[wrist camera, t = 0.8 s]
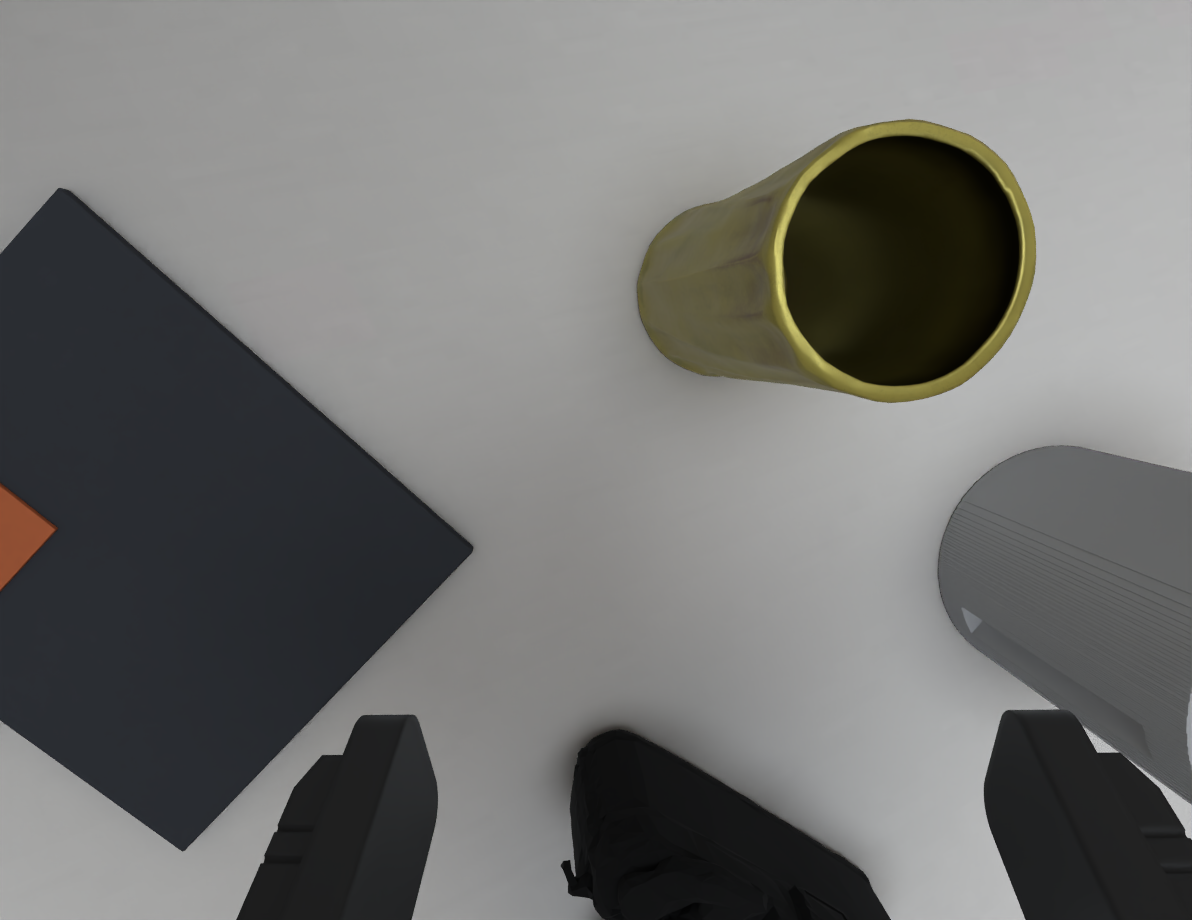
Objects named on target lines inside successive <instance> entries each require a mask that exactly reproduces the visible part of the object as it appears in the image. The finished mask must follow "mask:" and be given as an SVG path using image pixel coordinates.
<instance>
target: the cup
mask: <svg viewBox="0 0 1192 920" xmlns="http://www.w3.org/2000/svg"><path fill="white" fill-rule="evenodd" d="M961 500H962V501H961V502H960V504H959V505H958V506H957V509H956V510H955V511H954V514H953V515H952V516H951V517H952V518H951V519H950V522H949V523H948V524H949V525H948V526H947V529H946V532H945V534H944V537H943V540H942V541H943V542H942V543H941V544H942V546H941V549H940V555H939V556H940V557H939V558H940V559H939V561H938V562H939V568H938V569H939V570H938V572H939V573H938V574H939V575H938V577H939V578H938V579H939V581H940V582H939V584H940V585H939V586H940V588H941V589H940V591H941V592H940V593H941V595H942V596H941V597H942V599H943V601H944V602H943V603H944V605H945V608H946V610H947V611H946V612H948V613H949V614H948V615H949V617H950V618H951V620H952V621H953V622H952V623H954V626H955V627H957V630H958V631H960V634H961V635H963V636H964V637H965V638H964V639H966V640H967V641H968V642H969V643H970V644H972V645H973V646H974V647H975V648H977V649H978V650H979V651H980V652H982V653H983V654H984V655H986V656H987V657H988V658H990V659H991V660H993V661H994V662H995V663H997V664H998V665H1000V666H1001V667H1002V668H1004V669H1005V670H1006V671H1008V672H1009V673H1011V674H1012V675H1013V676H1015V677H1016V678H1017V679H1019V680H1020V681H1022V682H1023V683H1024V684H1026V685H1027V686H1029V687H1030V688H1031V689H1033V690H1034V691H1035V692H1037V693H1038V694H1040V695H1041V696H1042V697H1044V698H1045V699H1046V700H1048V701H1049V702H1051V703H1052V704H1053V705H1055V706H1056V707H1057V708H1059V709H1060V710H1068V711H1070V712H1072V713H1073V714H1074V715H1075V716H1076V717H1077V719H1078V720H1079V722H1080V723H1081V725H1082V726H1084V727H1085V728H1086V729H1088V730H1089V731H1091V732H1092V733H1093V734H1095V735H1096V736H1097V737H1099V738H1100V739H1102V740H1103V741H1104V742H1106V743H1107V744H1109V745H1110V746H1111V747H1113V748H1114V749H1115V750H1117V751H1118V752H1120V753H1121V754H1122V755H1124V756H1125V757H1126V758H1128V759H1129V760H1131V761H1132V762H1133V763H1135V764H1136V765H1138V766H1139V767H1140V768H1142V769H1143V770H1144V771H1146V772H1147V773H1149V774H1150V775H1151V776H1153V777H1154V778H1155V779H1157V780H1158V781H1160V782H1161V783H1162V784H1164V785H1165V786H1166V787H1168V788H1169V789H1171V790H1172V791H1173V792H1175V793H1176V794H1178V795H1179V796H1180V797H1182V798H1183V799H1184V800H1186V801H1187V802H1189V803H1190V804H1191V805H1192V473H1191V472H1186V471H1182V470H1178V469H1173V468H1169V467H1165V466H1160V465H1156V464H1151V463H1147V462H1143V461H1138V460H1134V459H1130V458H1125V457H1121V456H1117V455H1112V454H1108V453H1103V452H1099V451H1095V450H1090V449H1086V448H1081V447H1074V446H1048V447H1043V448H1039V449H1038V448H1037V449H1034V450H1030V451H1029V450H1028V451H1027V452H1024V453H1021V454H1018V455H1017V456H1016V455H1015V456H1014V457H1012V458H1010V459H1007V461H1004V462H1002V463H1001V464H999V465H998V466H996V467H995V468H992V470H991V471H990V472H989V471H988V473H987V474H986V475H984V476H983V477H982V478H981V479H980V480H979V481H977V482H976V483H975V484H974V485H973V487H972V488H971V489H970V490H969V491H968V492H967V494H966V495H965V496H964V497H963V498H962V499H961Z"/></svg>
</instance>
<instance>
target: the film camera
mask: <svg viewBox="0 0 1192 920" xmlns="http://www.w3.org/2000/svg"><path fill="white" fill-rule="evenodd" d="M570 814H571V828H572V839H573V848H574V860H575V871H576V877H574V874H573V872H572V870H571V863H570V860H567V861H563V863H562V864H561V867H562V869H563V871H564V873H565V876H566V879H567V881H568V893H569V894H570V895H572V896H578V897H586V898H590V899H592V900H593V905H594V907H595V909H596V911H597V912H598V913H599V914H600V916H601V917H602V918H604V919H606V920H891V919H890V917H889V916H888V914H887V912H886V911H885V909H884V908H883V906H882V904H881V903H880V901H879V899H878V898H877V896H876V894H875V893H874V891H873V889H872V887H871V885H870V882H869V879H868V878H867V876H866V875H865V874H864V872H863V871H861V870H860V869H858V868H856V867H855V866H853V865H852V864H850V863H849V862H848V861H847V860H846V859H845V858H843V857H841V856H839V855H837V854H834V853H832V852H830V851H829V850H828V849H826V848H825V847H824V846H822V845H821V844H819V843H818V842H816V841H815V840H813V839H811V838H810V837H808V836H807V835H805V834H803V833H801V832H800V831H798V830H796V829H795V828H794V827H792V826H791V825H789V824H787V823H786V822H784V821H782V820H781V819H779V818H777V817H776V816H774V815H772V814H771V813H769V812H768V811H766V810H764V809H763V808H761V807H760V806H758V805H757V804H755V803H754V802H752V801H751V800H749V799H748V798H746V797H744V796H743V795H741V794H739V793H737V792H735V791H734V790H732V789H731V788H729V787H727V786H726V785H724V784H723V783H721V782H719V781H718V780H716V779H714V778H713V777H711V776H709V775H708V774H706V773H704V772H702V771H701V770H699V769H697V768H696V767H694V766H693V765H691V764H690V763H688V762H686V761H684V760H682V759H681V758H679V757H677V756H675V755H673V754H671V753H670V752H668V751H666V750H665V749H663V748H661V747H659V746H657V745H655V744H654V743H652V742H650V741H648V740H646V739H644V738H642V737H640V736H638V735H636V734H634V733H631V732H629V731H625V730H620V729H619V730H612V731H609V732H606V733H603V734H601V735H599V736H597V737H594V738H593V739H592V740H591V741H590V742H589V743H588V744H587V745H586V747H585V748H581V750H580V751H579V752H578V758H577V764H576V765H575V771H574V780H573V785H572V792H571V802H570Z"/></svg>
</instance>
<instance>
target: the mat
mask: <svg viewBox="0 0 1192 920" xmlns="http://www.w3.org/2000/svg"><path fill="white" fill-rule="evenodd" d="M472 551H473V546H472V545H471V544H470V543H469V542H467V541H466V540H465V539H464V538H463V537H462V536H461V535H459V534H458V533H457V532H456V531H455V530H454V529H453V528H452V527H450V526H449V525H448V524H447V523H446V522H445V521H444V520H442V519H441V518H440V517H439V516H438V515H437V514H436V513H435V512H433V511H432V510H431V509H430V508H429V507H428V506H427V505H425V504H424V503H423V502H422V501H421V500H420V499H419V498H417V497H416V496H415V495H414V494H413V493H412V492H411V491H410V490H408V489H407V488H406V487H405V486H404V485H403V484H402V483H400V482H399V481H398V480H397V479H396V478H395V477H394V476H393V475H391V474H390V473H389V472H388V471H387V470H386V469H385V468H383V467H382V466H381V465H380V464H379V463H378V462H377V461H376V460H374V459H373V458H372V457H371V456H370V455H369V454H368V453H366V452H365V451H364V450H363V449H362V448H361V447H360V446H358V445H357V444H356V443H355V442H354V441H353V440H352V439H351V438H349V437H348V436H347V435H346V434H345V433H344V432H343V431H341V430H340V429H339V428H338V427H337V426H336V425H335V424H334V423H332V422H331V421H330V420H329V419H328V418H327V417H326V416H324V415H323V414H322V413H321V412H320V411H319V410H318V409H317V408H315V407H314V406H313V405H312V404H311V403H310V402H309V401H307V400H306V399H305V398H304V397H303V396H302V395H301V394H299V393H298V392H297V391H296V390H295V389H294V388H293V387H292V386H290V385H289V384H288V383H287V382H286V381H285V380H284V379H282V378H281V377H280V376H279V375H278V374H277V373H276V372H275V371H273V370H272V369H271V368H270V367H269V366H268V365H267V364H265V363H264V362H263V361H262V360H261V359H260V358H259V357H258V356H256V355H255V354H254V353H253V352H252V351H251V350H250V349H248V348H247V347H246V346H245V345H244V344H243V343H242V342H240V341H239V340H238V339H237V338H236V337H235V336H234V335H233V334H231V333H230V332H229V331H228V330H227V329H226V328H225V327H223V326H222V325H221V324H220V323H219V322H218V321H217V320H216V319H214V318H213V317H212V316H211V315H210V314H209V313H208V312H206V311H205V310H204V309H203V308H202V307H201V306H200V305H199V304H197V303H196V302H195V301H194V300H193V299H192V298H191V297H189V296H188V295H187V294H186V293H185V292H184V291H183V290H181V289H180V288H179V287H178V286H177V285H176V284H175V283H174V282H172V281H171V280H170V279H169V278H168V277H167V276H166V275H164V274H163V273H162V272H161V271H160V270H159V269H158V268H157V267H155V266H154V265H153V264H152V263H151V262H150V261H149V260H147V259H146V258H145V257H144V256H143V255H142V254H141V253H140V252H138V251H137V250H136V249H135V248H134V247H133V246H132V245H130V244H129V243H128V242H127V241H126V240H125V239H124V238H122V237H121V236H120V235H119V234H118V233H117V232H116V231H115V230H113V229H112V228H111V227H110V226H109V225H108V224H107V223H105V222H104V221H103V220H102V219H101V218H100V217H99V216H98V215H96V214H95V213H94V212H93V211H92V210H91V209H90V208H88V207H87V206H86V205H85V204H84V203H83V202H82V201H81V200H79V199H78V198H77V197H76V196H75V195H74V194H73V193H71V192H70V191H69V190H66V189H62V188H58V189H57V190H56V192H55V193H54V194H53V195H52V196H51V197H50V198H49V199H48V201H47V202H46V203H45V204H44V205H43V206H42V207H41V209H40V210H39V211H38V212H37V213H36V214H35V215H34V216H33V218H32V219H31V220H30V221H29V222H28V223H27V224H26V226H25V227H24V228H23V229H22V230H21V231H20V232H19V233H18V235H17V236H16V237H15V238H14V239H13V240H12V241H11V243H10V244H9V245H8V246H7V247H6V248H5V249H4V251H3V252H2V253H1V254H0V720H1V721H2V722H3V723H5V724H6V725H8V726H9V727H10V728H12V729H13V730H14V731H16V732H17V733H19V734H20V735H21V736H23V737H24V738H26V739H27V740H28V741H30V742H31V743H33V744H34V745H35V746H37V747H38V748H39V749H41V750H42V751H44V752H45V753H46V754H48V755H49V756H51V757H52V758H53V759H55V760H56V761H57V762H59V763H60V764H62V765H63V766H64V767H66V768H67V769H69V770H70V771H71V772H73V773H74V774H76V775H77V776H78V777H80V778H81V779H82V780H84V781H85V782H87V783H88V784H89V785H91V786H92V787H94V788H95V789H96V790H98V791H99V792H100V793H102V794H103V795H105V796H106V797H107V798H109V799H110V800H112V801H113V802H114V803H116V804H117V805H119V806H120V807H121V808H123V809H124V810H125V811H127V812H128V813H130V814H131V815H132V816H134V817H135V818H137V819H138V820H139V821H141V822H142V823H143V824H145V825H146V826H148V827H149V828H150V829H152V830H153V831H155V832H156V833H157V834H159V835H160V836H162V837H163V838H164V839H166V840H167V841H168V842H170V843H171V844H173V845H174V846H175V847H177V848H178V849H180V850H181V851H184V850H186V849H187V847H188V846H189V845H190V844H191V843H192V842H193V841H194V840H195V839H196V838H197V837H198V836H199V835H200V834H201V833H202V832H203V831H204V830H205V829H206V828H207V827H208V826H209V825H210V824H211V823H212V822H213V821H214V819H215V818H216V817H217V816H218V815H219V814H220V813H221V812H222V811H223V810H224V809H225V808H226V807H227V806H228V805H229V804H230V803H231V802H232V801H233V800H234V799H235V798H236V797H237V796H238V795H239V794H240V792H241V791H242V790H243V789H244V788H245V787H246V786H247V785H248V784H249V783H250V782H251V781H252V780H253V779H254V778H255V777H256V776H257V775H258V774H259V773H260V772H261V771H262V770H263V769H264V768H265V767H266V765H267V764H268V763H269V762H270V761H271V760H272V759H273V758H274V757H275V756H276V755H277V754H278V753H279V752H280V751H281V750H282V749H283V748H284V747H285V746H286V745H287V744H288V743H289V742H290V741H291V740H292V739H293V737H294V736H295V735H296V734H297V733H298V732H299V731H300V730H301V729H302V728H303V727H304V726H305V725H306V724H307V723H308V722H309V721H310V720H311V719H312V718H313V717H314V716H315V715H316V714H317V713H318V712H319V710H320V709H321V708H322V707H323V706H324V705H325V704H326V703H327V702H328V701H329V700H330V699H331V698H332V697H333V696H334V695H335V694H336V693H337V692H338V691H339V690H340V689H341V688H342V687H343V686H344V685H345V683H346V682H347V681H348V680H349V679H350V678H351V677H352V676H353V675H354V674H355V673H356V672H357V671H358V670H359V669H360V668H361V667H362V666H363V665H364V664H365V663H366V662H367V661H368V660H369V659H370V658H371V657H372V655H373V654H374V653H375V652H376V651H377V650H378V649H379V648H380V647H381V646H382V645H383V644H384V643H385V642H386V641H387V640H388V639H389V638H390V637H391V636H392V635H393V634H394V633H395V632H396V631H397V630H398V628H399V627H400V626H401V625H402V624H403V623H404V622H405V621H406V620H407V619H408V618H409V617H410V616H411V615H412V614H413V613H414V612H415V611H416V610H417V609H418V608H419V607H420V606H421V605H422V604H423V603H424V601H425V600H426V599H427V598H428V597H429V596H430V595H431V594H432V593H433V592H434V591H435V590H436V589H437V588H438V587H439V586H440V585H441V584H442V583H443V582H444V581H445V580H446V579H447V578H448V577H449V576H450V575H451V573H452V572H453V571H454V570H455V569H456V568H457V567H458V566H459V565H460V564H461V563H462V562H463V561H464V560H465V559H466V558H467V557H468V556H469V555H470V554H471V553H472Z"/></svg>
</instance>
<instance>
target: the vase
mask: <svg viewBox="0 0 1192 920" xmlns="http://www.w3.org/2000/svg"><path fill="white" fill-rule="evenodd" d="M1035 265H1036V239H1035V228H1034V224H1033V220H1032V216H1031V213H1030V210H1029V207H1028V204H1027V202H1026V200H1025V198H1024V195H1023V193H1022V191H1021V188H1020V186H1019V184H1018V182H1017V181H1016V179H1015V177H1014V175H1013V173H1012V172H1011V170H1010V169H1009V167H1008V166H1007V164H1006V163H1005V162H1004V161H1003V160H1002V159H1001V158H1000V157H999V156H998V155H997V154H996V153H995V152H994V151H993V150H991V149H990V148H989V147H988V146H986V145H985V144H984V143H983V142H981V141H979V140H978V139H976V138H974V137H973V136H971V135H969V134H966V133H963V132H960V131H957V130H955V129H952V128H948V127H945V126H942V125H939V124H935V123H931V122H927V121H923V120H914V119H905V120H897V121H889V122H881V123H876V124H871V125H866V126H861V127H857V128H853V129H850V130H848V131H845V132H842V133H840V134H838V135H837V136H835V137H833V138H831V139H830V140H828V141H826V142H824V143H823V144H821V145H819V146H818V147H816V148H815V149H813V150H812V151H810V152H808V153H807V154H805V155H804V156H802V157H801V158H799V159H797V160H796V161H794V162H792V163H790V164H789V165H787V166H785V167H784V168H782V169H780V170H778V171H777V172H775V173H774V174H772V175H771V176H769V177H767V178H766V179H764V180H762V181H760V182H759V183H757V184H755V185H753V186H751V187H749V188H747V189H744V190H743V191H741V192H739V193H737V194H735V195H733V196H731V197H729V198H727V199H725V200H722V201H719V202H714V203H709V204H704V205H701V206H697V207H694V208H692V209H689V210H687V211H685V212H683V213H681V214H680V215H678V216H677V217H675V218H674V219H673V220H672V221H671V222H669V223H668V224H667V225H666V226H665V227H664V228H663V229H662V230H661V231H660V232H659V233H658V234H657V236H656V237H655V238H654V240H653V241H652V243H651V244H650V246H649V249H648V251H647V253H646V256H645V259H644V262H643V265H642V268H641V271H640V274H639V278H638V283H637V293H638V303H639V310H640V315H641V319H642V322H643V324H644V326H645V329H646V331H647V332H648V334H649V336H650V338H651V339H652V341H653V342H654V344H655V345H656V347H657V348H658V349H659V350H660V352H661V353H662V354H663V355H665V357H667V358H668V359H669V360H671V361H672V362H674V363H675V364H677V365H679V366H681V367H683V368H685V369H687V370H690V371H693V372H695V373H698V374H701V375H705V376H724V377H728V378H735V379H744V380H753V381H765V382H773V383H781V384H791V385H798V386H804V387H810V388H816V389H822V390H829V391H836V392H841V393H846V394H850V395H854V396H857V397H861V398H865V399H869V400H872V401H877V402H887V403H896V402H908V401H914V400H919V399H925V398H928V397H932V396H935V395H939V394H942V393H944V392H947V391H949V390H952V389H954V388H956V387H958V386H960V385H962V384H963V383H964V382H966V381H967V380H969V379H970V378H971V377H973V376H974V375H975V374H976V373H977V372H978V371H979V370H980V369H982V368H983V367H984V366H985V365H986V364H987V363H988V362H989V361H990V360H991V359H992V358H993V357H994V356H995V355H996V353H997V352H998V351H999V350H1000V349H1001V348H1002V346H1003V345H1004V343H1005V342H1006V340H1007V339H1008V338H1009V336H1010V335H1011V333H1012V331H1013V329H1014V328H1015V326H1016V324H1017V322H1018V320H1019V318H1020V316H1021V314H1022V311H1023V309H1024V307H1025V304H1026V301H1027V299H1028V296H1029V293H1030V290H1031V287H1032V284H1033V279H1034V274H1035Z"/></svg>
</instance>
